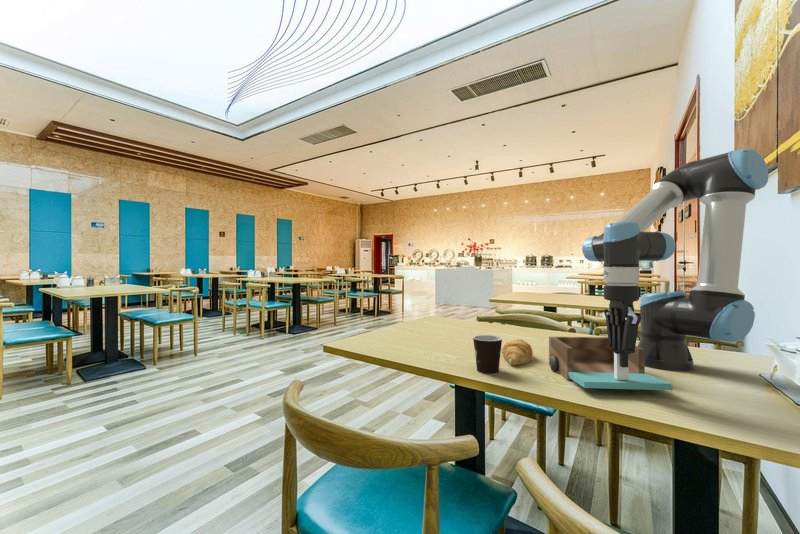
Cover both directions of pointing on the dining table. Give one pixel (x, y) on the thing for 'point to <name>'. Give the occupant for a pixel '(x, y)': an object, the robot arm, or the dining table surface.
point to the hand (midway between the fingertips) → (621, 378)
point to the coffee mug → (487, 353)
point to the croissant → (517, 352)
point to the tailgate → (619, 381)
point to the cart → (588, 356)
